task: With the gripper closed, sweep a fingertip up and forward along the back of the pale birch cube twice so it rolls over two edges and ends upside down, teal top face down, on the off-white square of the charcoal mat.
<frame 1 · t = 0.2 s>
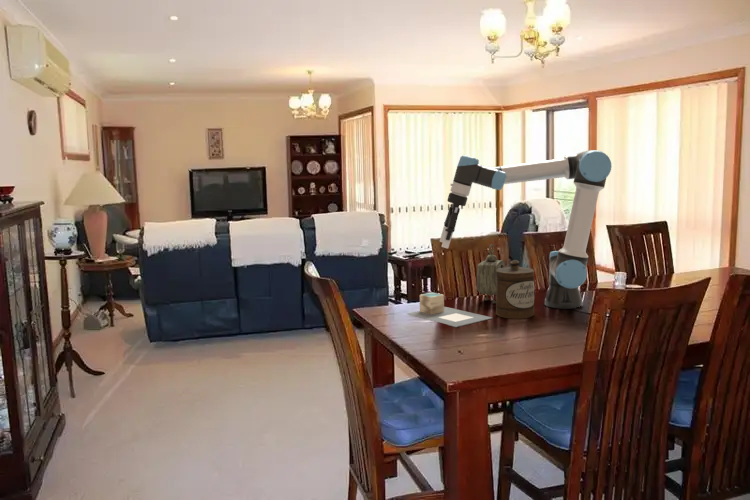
hand: (443, 245, 264), 28 cm above the table, fingers open, 13 cm apart
birch cube: (431, 311, 269), resting on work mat
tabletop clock: (490, 301, 287), on the table
wooden container: (515, 315, 261), on the table
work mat: (448, 316, 261), on the table
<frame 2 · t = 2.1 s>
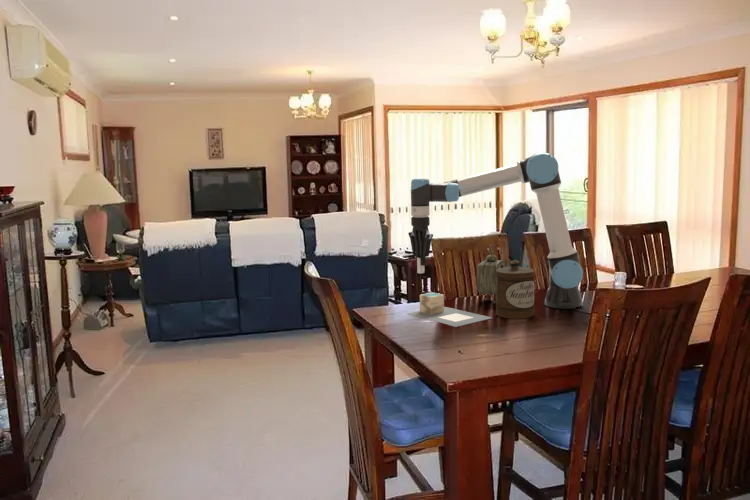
hand: (420, 272, 272), 16 cm above the table, fingers closed
nothing on the table moved.
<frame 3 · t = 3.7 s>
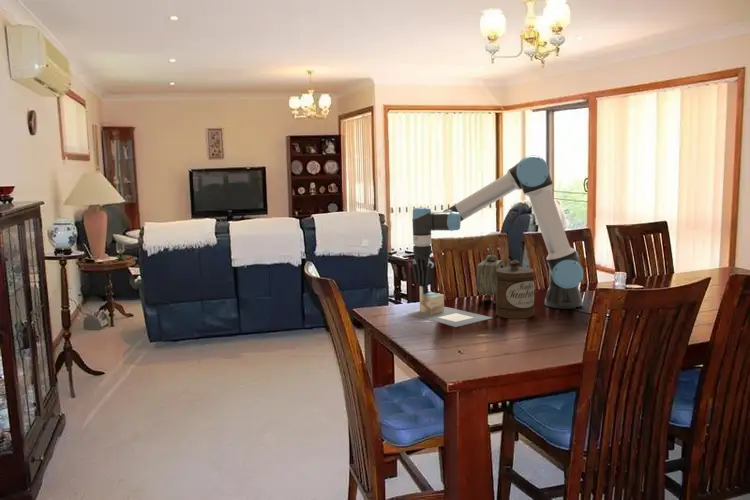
hand: (423, 301, 273), 4 cm above the table, fingers closed
birch cube: (431, 311, 269), resting on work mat, touching gripper
everything else where it was.
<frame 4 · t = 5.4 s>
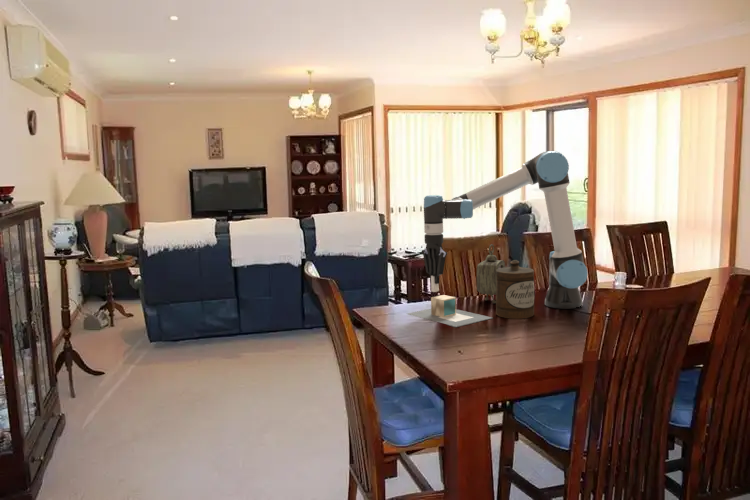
hand: (435, 291, 266), 9 cm above the table, fingers closed
birch cube: (437, 304, 266), point 4 cm above the table, tilted 90°, touching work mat
everything else where it was.
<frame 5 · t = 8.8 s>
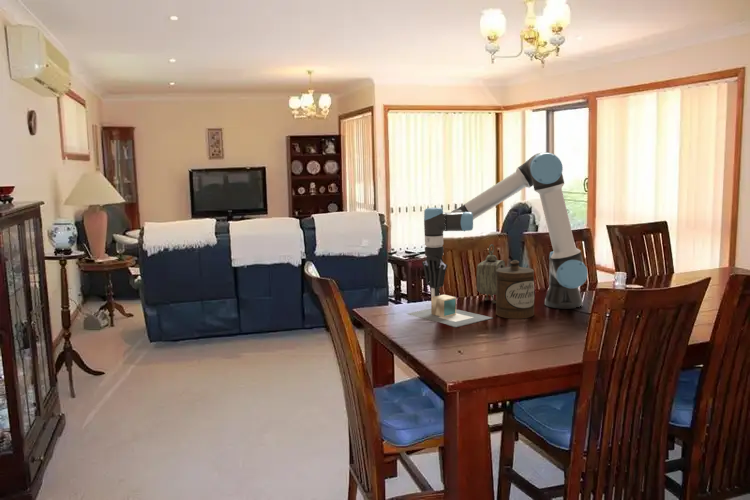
hand: (435, 303, 267), 4 cm above the table, fingers closed
birch cube: (437, 304, 266), point 4 cm above the table, tilted 92°, touching gripper, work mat
everything else where it was.
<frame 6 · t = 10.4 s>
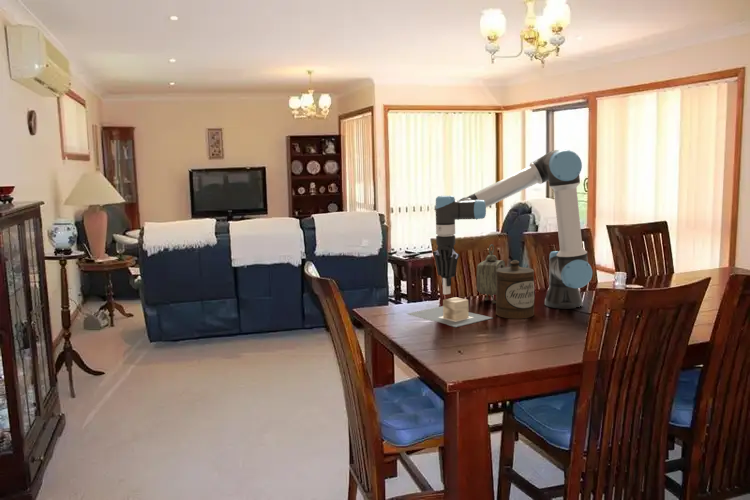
hand: (446, 293, 261), 9 cm above the table, fingers closed
birch cube: (455, 299, 257), point 7 cm above the table, tilted 180°, touching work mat
everything else where it was.
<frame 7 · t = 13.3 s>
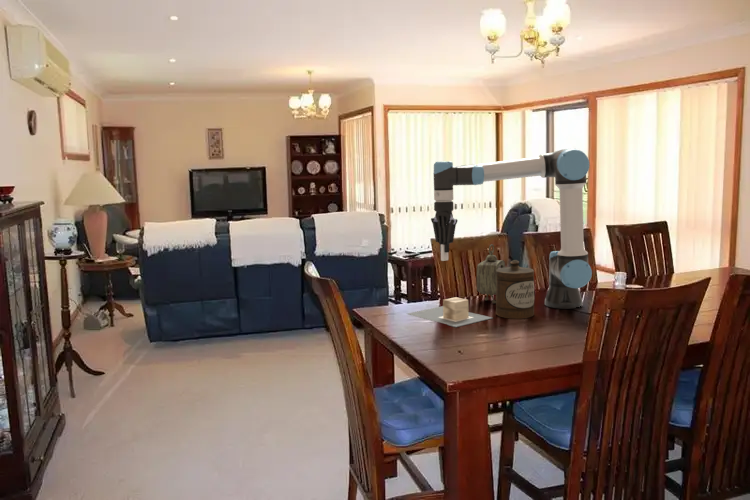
hand: (444, 260, 260), 22 cm above the table, fingers closed
nothing on the table moved.
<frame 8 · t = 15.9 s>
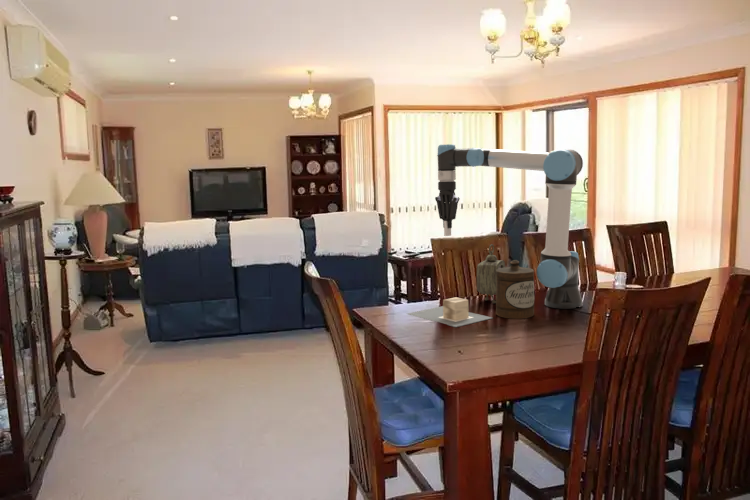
hand: (447, 235, 283), 29 cm above the table, fingers closed
nothing on the table moved.
at the end: birch cube tilted 180°; birch cube inside the target area on the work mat (1.0 cm from its centre), point 7.4 cm above the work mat's base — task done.
